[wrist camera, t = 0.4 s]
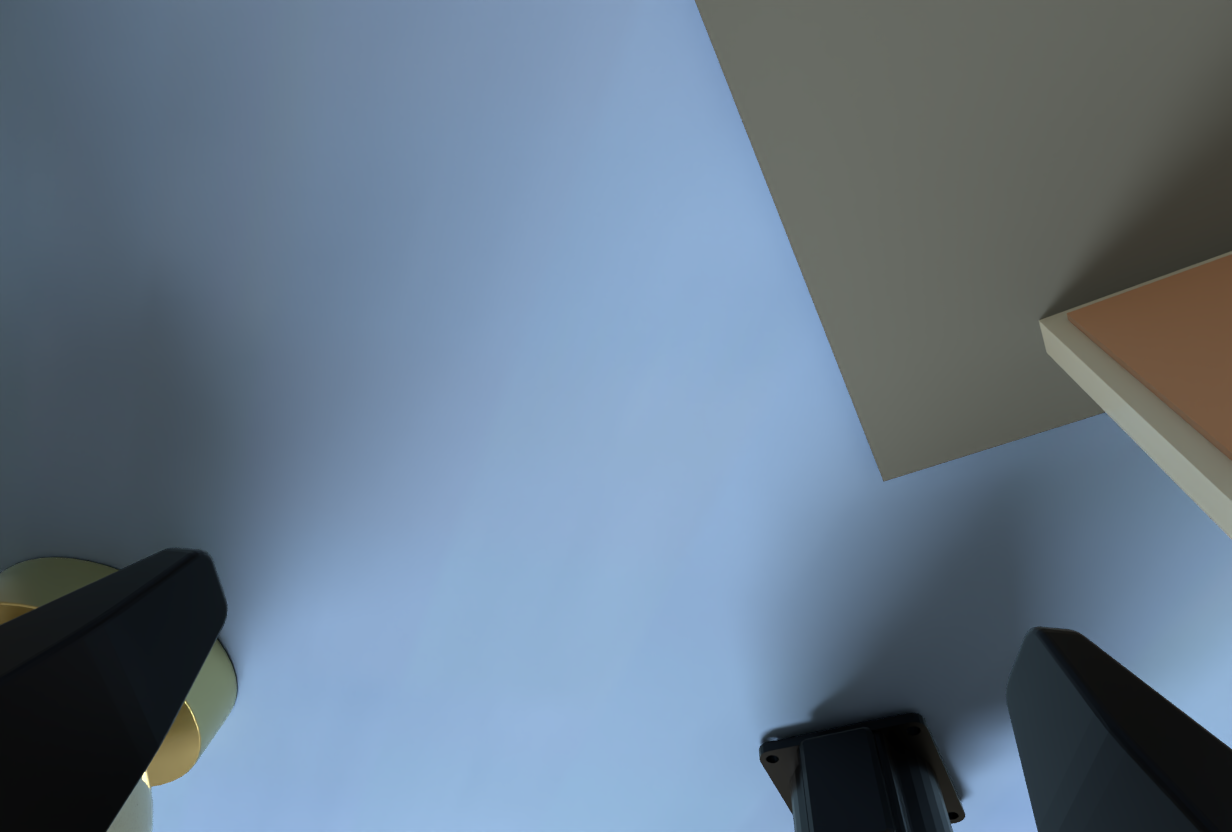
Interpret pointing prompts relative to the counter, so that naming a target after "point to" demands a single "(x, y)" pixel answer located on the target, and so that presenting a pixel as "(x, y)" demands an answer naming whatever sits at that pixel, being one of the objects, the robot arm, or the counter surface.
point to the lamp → (198, 714)
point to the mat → (979, 186)
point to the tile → (1162, 372)
